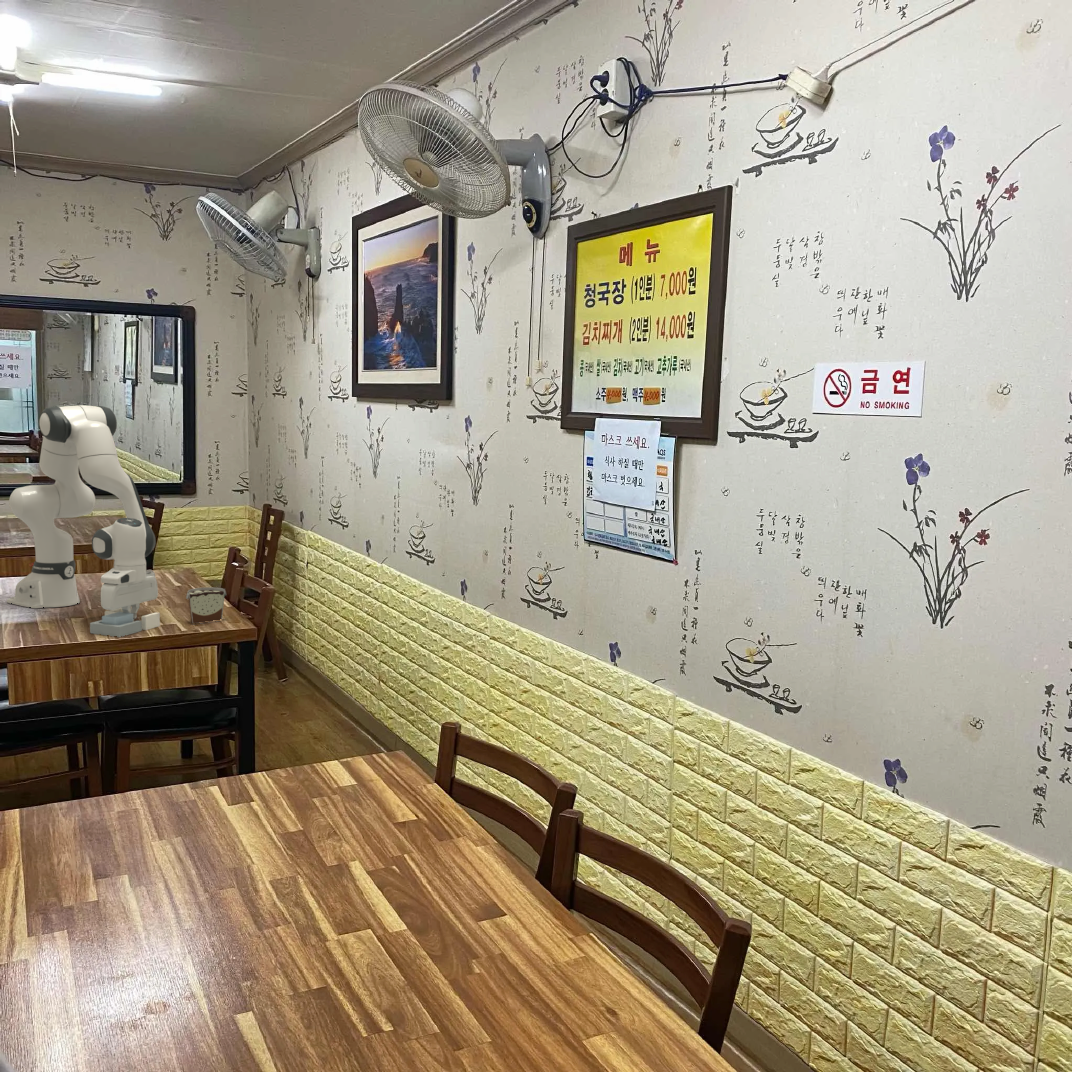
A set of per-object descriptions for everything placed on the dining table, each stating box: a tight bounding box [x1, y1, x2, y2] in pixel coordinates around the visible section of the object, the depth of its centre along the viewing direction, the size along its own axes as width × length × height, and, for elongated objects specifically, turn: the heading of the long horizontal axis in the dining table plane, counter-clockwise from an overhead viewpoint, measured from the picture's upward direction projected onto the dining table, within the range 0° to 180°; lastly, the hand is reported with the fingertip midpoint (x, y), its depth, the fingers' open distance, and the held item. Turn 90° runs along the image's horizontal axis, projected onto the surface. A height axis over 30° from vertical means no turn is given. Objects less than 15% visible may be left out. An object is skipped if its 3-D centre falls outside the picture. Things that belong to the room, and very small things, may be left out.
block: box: [101, 612, 133, 625], centre depth 284 cm, size 5×7×5 cm
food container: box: [185, 586, 227, 623], centre depth 302 cm, size 12×6×10 cm, turn 131°
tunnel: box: [104, 608, 161, 631], centre depth 292 cm, size 15×6×4 cm, turn 71°
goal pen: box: [89, 619, 143, 638], centre depth 283 cm, size 10×9×3 cm
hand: (130, 619), depth 289 cm, fingers closed
